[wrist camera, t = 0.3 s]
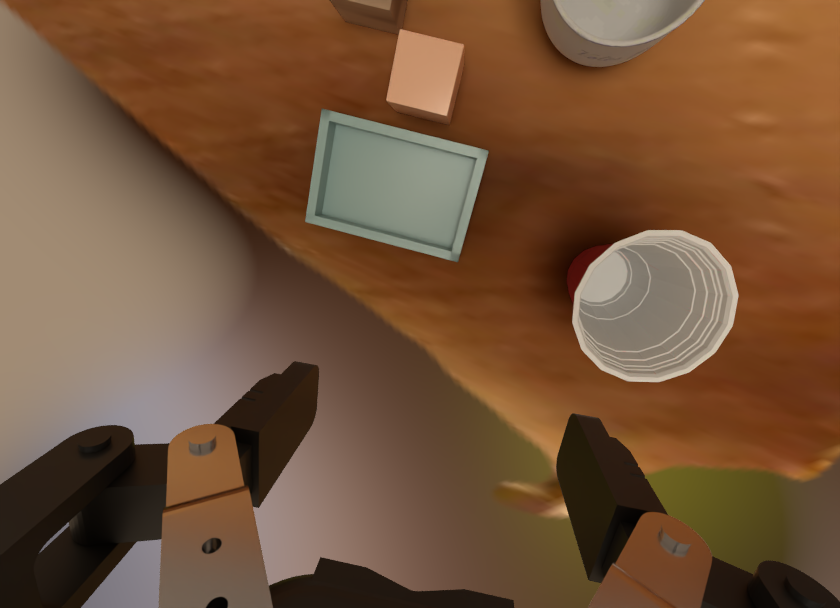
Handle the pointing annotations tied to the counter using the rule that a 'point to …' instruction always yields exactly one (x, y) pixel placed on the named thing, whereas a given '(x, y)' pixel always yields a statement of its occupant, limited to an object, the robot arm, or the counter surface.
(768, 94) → the counter surface
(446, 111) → the terracotta cube
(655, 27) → the teacup
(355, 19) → the walnut cube
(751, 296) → the counter surface
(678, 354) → the plastic cup
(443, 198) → the tray
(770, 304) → the counter surface
